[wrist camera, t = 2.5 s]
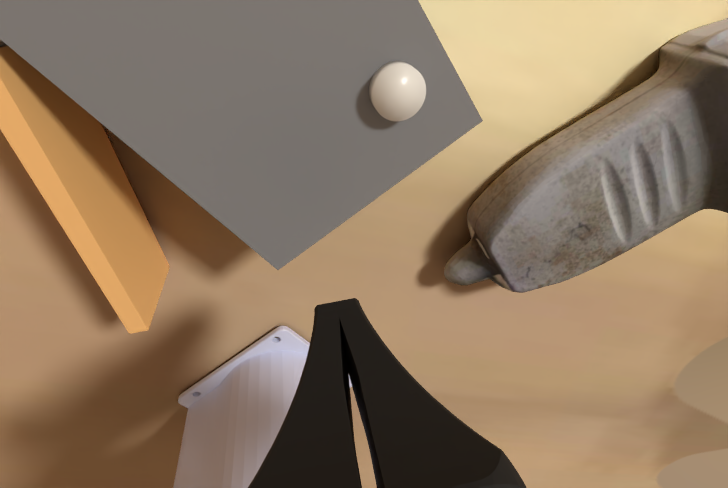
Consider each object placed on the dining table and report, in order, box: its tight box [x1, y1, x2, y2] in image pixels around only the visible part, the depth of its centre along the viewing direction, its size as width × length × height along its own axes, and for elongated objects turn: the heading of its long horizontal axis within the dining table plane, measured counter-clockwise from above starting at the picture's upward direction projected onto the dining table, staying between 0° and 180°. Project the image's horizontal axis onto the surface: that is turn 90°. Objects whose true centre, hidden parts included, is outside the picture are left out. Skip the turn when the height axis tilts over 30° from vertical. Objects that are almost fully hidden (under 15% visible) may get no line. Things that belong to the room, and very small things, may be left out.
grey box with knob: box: [0, 0, 483, 270], centre depth 14 cm, size 10×13×6 cm
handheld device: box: [444, 18, 728, 293], centre depth 22 cm, size 10×20×5 cm, turn 124°
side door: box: [0, 40, 170, 334], centre depth 16 cm, size 2×12×5 cm, turn 6°
